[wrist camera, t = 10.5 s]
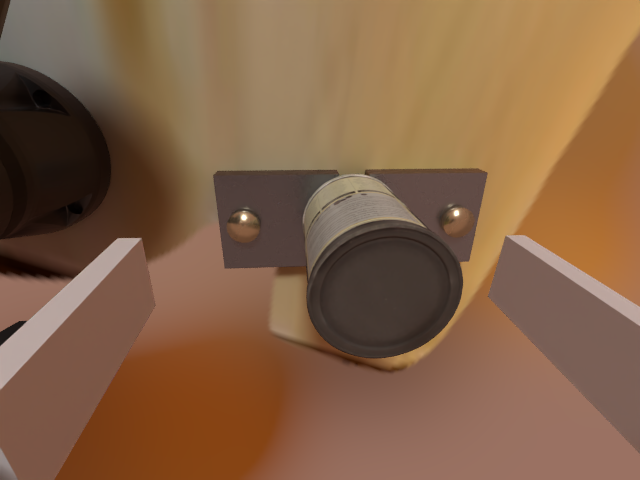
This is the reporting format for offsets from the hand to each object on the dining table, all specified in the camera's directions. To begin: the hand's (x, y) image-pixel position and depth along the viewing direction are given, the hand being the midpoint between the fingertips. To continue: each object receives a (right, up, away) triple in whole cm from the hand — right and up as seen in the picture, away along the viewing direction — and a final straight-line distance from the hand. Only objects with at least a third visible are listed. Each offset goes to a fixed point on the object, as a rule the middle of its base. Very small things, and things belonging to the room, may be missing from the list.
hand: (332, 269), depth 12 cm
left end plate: (-5, +4, +24) cm, 24 cm away
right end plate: (+10, +4, +25) cm, 27 cm away
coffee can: (+3, +3, +22) cm, 23 cm away
